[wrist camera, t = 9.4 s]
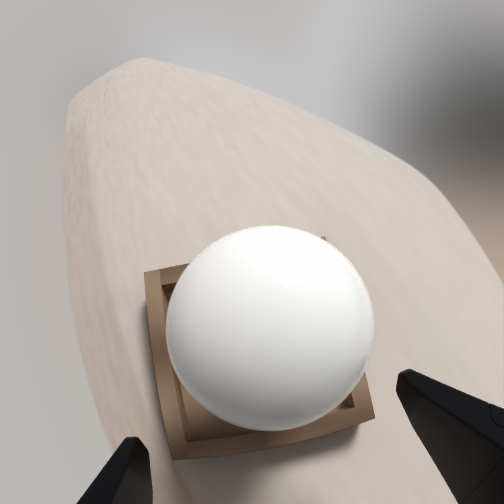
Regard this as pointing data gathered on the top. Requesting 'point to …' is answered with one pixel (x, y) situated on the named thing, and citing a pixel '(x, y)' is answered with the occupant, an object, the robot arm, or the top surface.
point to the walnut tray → (204, 423)
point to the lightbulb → (270, 328)
